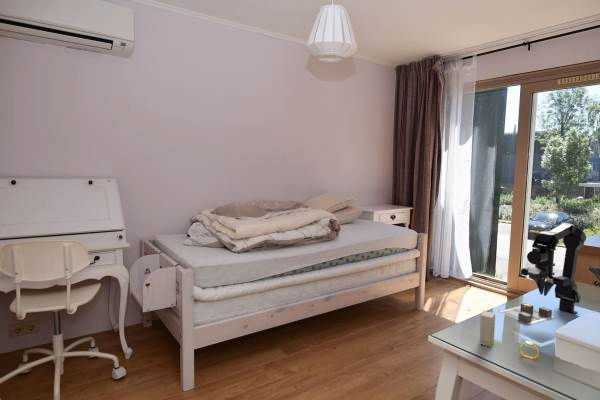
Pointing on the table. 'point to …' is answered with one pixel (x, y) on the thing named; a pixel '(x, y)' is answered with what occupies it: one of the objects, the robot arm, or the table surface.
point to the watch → (529, 345)
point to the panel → (537, 316)
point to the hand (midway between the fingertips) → (543, 295)
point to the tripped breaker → (527, 308)
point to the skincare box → (487, 328)
